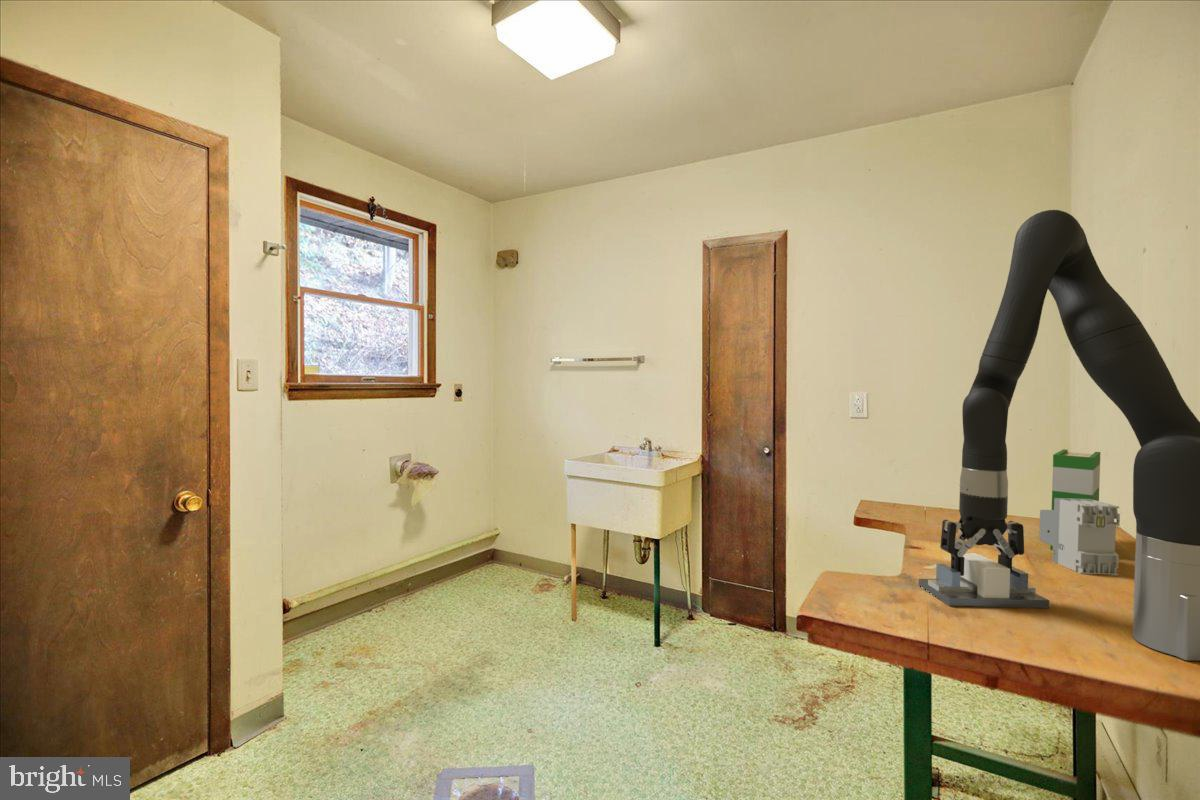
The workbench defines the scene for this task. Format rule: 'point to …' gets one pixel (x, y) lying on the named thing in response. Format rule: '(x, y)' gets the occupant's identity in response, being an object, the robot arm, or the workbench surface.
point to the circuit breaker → (1081, 534)
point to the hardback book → (1075, 476)
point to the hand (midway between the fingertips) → (981, 575)
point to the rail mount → (966, 594)
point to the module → (986, 576)
